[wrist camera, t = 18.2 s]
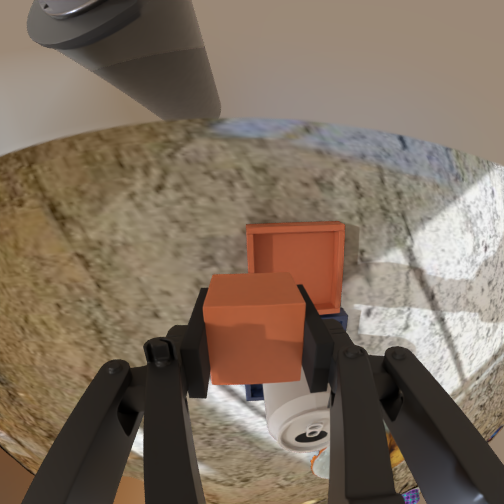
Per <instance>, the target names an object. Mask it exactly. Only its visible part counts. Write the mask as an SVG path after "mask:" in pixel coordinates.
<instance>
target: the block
mask: <svg viewBox="0 0 504 504" xmlns="http://www.w3.org/2000/svg"><path fill="white" fill-rule="evenodd" d="M305 312H306V303H305V301H304V299H303V297H302V295H301V293H300V291H299V289H298V287H297V285H296V283H295V281H294V280H293V278H292V276H291V274H290V272H277V273H249V274H216V275H213V276H212V279H211V282H210V285H209V289H208V292H207V295H206V298H205V301H204V305H203V316H204V322H205V327H206V336H207V344H208V352H209V360H210V368H211V370H210V374H211V381H212V384H213V385H240V384H266V383H281V382H293V381H300V379H301V368H302V354H303V341H304V326H305Z"/></svg>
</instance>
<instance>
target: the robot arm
mask: <svg viewBox="0 0 504 504" xmlns="http://www.w3.org/2000/svg"><path fill="white" fill-rule="evenodd" d="M38 1H39V3H40V6H41V8H42V10H43V11H44V12H45V13H47V14H48V15H49V16H51V17H52V18H55V19H67V18H71V17H75V16H78V15H80V14H83V13H85V12H87V11H89V10H91V9H93V8H95V7H97V6H99V5H100V4H102V3H104V2H105V1H107V0H38ZM297 287H298V289H299V291H300V293H301V295H302V297H303V299H304V301H305V303H306V312H305V326H304V341H303V354H302V368H303V371H304V374H305V377H306V381H307V384H308V387H309V390H310V393H318V392H326V391H327V387H328V383H329V385H330V388H331V392H330V397H329V401H328V406H327V408H330V467H329V491H328V504H405V500H404V497H403V496H402V494H398V493H396V491H395V488H394V481H393V473H392V466H391V460H390V454H389V448H388V442H387V437H386V431H385V426H384V422H385V424H386V426H387V427H388V429H389V431H390V433H391V435H392V437H393V439H394V440H395V442H396V444H397V446H398V448H399V450H400V452H401V454H402V456H403V458H404V459H405V461H406V463H407V465H408V467H409V469H410V471H411V473H412V475H413V477H414V479H415V481H416V483H417V485H418V487H419V489H420V491H421V493H422V495H423V497H424V499H425V501H426V503H427V504H504V465H503V464H502V462H501V461H500V460H499V458H498V457H497V455H496V454H495V453H494V451H493V450H492V449H491V447H490V446H489V445H488V443H487V442H486V441H485V439H484V438H483V437H482V435H481V434H480V433H479V432H478V430H477V429H476V428H475V426H474V425H473V424H472V423H471V421H470V420H469V419H468V418H467V416H466V415H465V414H464V413H463V412H462V410H461V409H460V408H459V407H458V405H457V404H456V403H455V402H454V401H453V399H452V398H451V397H450V396H449V395H448V393H447V392H446V391H445V390H444V389H443V387H442V386H441V385H440V384H439V383H438V382H437V380H436V379H435V378H434V377H433V376H432V375H431V374H430V372H429V371H428V370H427V369H426V368H425V367H424V366H423V364H422V363H421V362H420V361H419V360H418V359H417V358H416V357H415V355H414V354H413V353H412V352H411V351H410V350H408V349H406V348H404V347H399V346H396V347H391V348H388V349H387V350H386V351H385V355H384V356H373V355H368V354H367V352H366V350H365V349H364V348H362V347H360V346H357V345H354V344H353V342H352V340H351V339H350V337H349V336H348V334H347V333H346V331H345V330H344V329H343V326H342V325H341V323H340V322H338V321H337V320H335V319H334V318H332V319H322V318H321V317H320V315H319V313H318V311H317V309H316V308H315V306H314V304H313V302H312V300H311V299H310V297H309V295H308V293H307V291H306V290H305V288H304V286H303V284H299V285H297ZM208 289H209V288H201V290H200V293H199V295H198V298H197V301H196V304H195V306H194V309H193V312H192V315H191V318H190V321H189V323H188V325H175V326H173V327H172V328H171V329H170V330H169V331H168V333H167V335H166V337H157V338H153V339H150V340H148V341H147V342H146V343H145V344H144V346H143V348H144V352H145V356H146V360H147V365H146V366H141V367H134V368H130V366H129V363H128V362H126V361H124V360H121V359H117V360H111V361H108V362H106V363H105V364H104V365H103V366H102V367H101V368H100V370H99V371H98V373H97V374H96V376H95V377H94V379H93V380H92V382H91V383H90V385H89V386H88V388H87V389H86V391H85V393H84V394H83V396H82V397H81V399H80V400H79V402H78V403H77V405H76V407H75V408H74V410H73V411H72V413H71V415H70V416H69V418H68V420H67V421H66V423H65V424H64V426H63V428H62V429H61V431H60V433H59V434H58V436H57V438H56V440H55V441H54V443H53V445H52V446H51V448H50V450H49V452H48V453H47V455H46V457H45V459H44V461H43V462H42V464H41V466H40V468H39V470H38V472H37V473H36V475H35V477H34V479H33V481H32V483H31V485H30V487H29V489H28V491H27V493H26V495H25V497H24V499H23V501H22V503H21V504H113V502H114V499H115V495H116V492H117V489H118V486H119V483H120V480H121V477H122V474H123V471H124V468H125V465H126V462H127V459H128V457H129V454H130V451H131V448H132V445H133V442H134V440H135V437H136V434H137V431H138V429H139V426H140V423H141V420H142V418H143V415H144V439H143V458H144V489H145V504H206V501H205V497H204V493H203V488H202V483H201V479H200V474H199V469H198V464H197V458H196V453H195V447H194V441H193V435H192V429H191V422H190V415H189V408H188V402H187V398H186V396H187V391H188V393H189V398H207V391H208V384H209V377H210V370H211V368H210V360H209V352H208V344H207V336H206V327H205V322H204V316H203V305H204V301H205V298H206V295H207V292H208ZM383 420H384V421H383Z"/></svg>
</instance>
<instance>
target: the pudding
mask: <svg viewBox="0 0 504 504" xmlns="http://www.w3.org/2000/svg"><path fill="white" fill-rule="evenodd" d="M419 492H420V489H419V487H417V488H414V489H412V490H409V491H407V492H405V493H404V494H402V496H403V497H404V500H405V504H416V503H417V502H418V501H419Z"/></svg>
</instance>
